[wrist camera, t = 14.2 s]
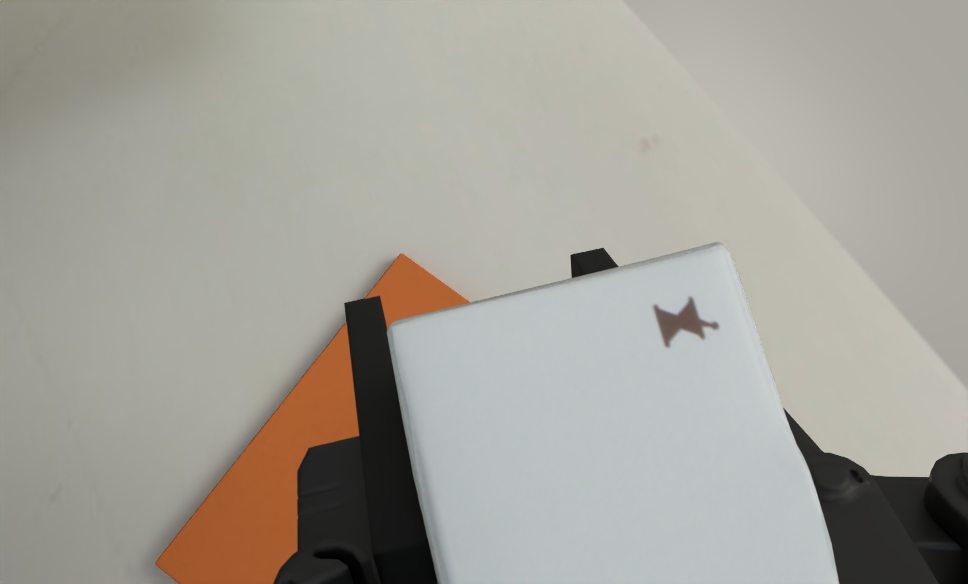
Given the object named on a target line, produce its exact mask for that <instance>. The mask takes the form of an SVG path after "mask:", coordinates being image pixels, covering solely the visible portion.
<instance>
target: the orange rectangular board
mask: <svg viewBox="0 0 968 584" xmlns="http://www.w3.org/2000/svg"><path fill="white" fill-rule="evenodd" d="M375 296H380V298H381V302H382V307H383V311H384V316H385V320H386V324H387V329H388V328H389V326H390V325H391V324H392V323H393V322H394V321H396V320H400V319H404V318H408V317H412V316H416V315H420V314H424V313H429V312H433V311H437V310H441V309H446V308H450V307H454V306H458V305H463V304H467V303H470V302H469V301H468V300H466V299H465V298H463V297H462V296H461V295H459V294H458V293H456V292H455V291H454V290H452V289H451V288H450V287H448V286H447V285H445V284H444V283H443V282H441V281H440V280H438V279H437V278H436V277H434V276H433V275H431V274H430V273H429V272H427V271H426V270H424V269H423V268H422V267H420V266H419V265H418V264H416V263H415V262H413V261H412V260H411V259H409V258H408V257H406V256H405V255H404V254H402V253H401V254H400V255H399V256H398V257H397V259H396V260H395V261H394V262H393V264H392V265H391V266H390V267H389V269H388V270H387V271H386V272H385V274H384V275H383V276H382V277H381V279H380V280H379V281H378V282H377V284H376V285H375V286H374V288H373V289H372V290H371V291H370V293H369V294H368V295H367V296H366V298H371V297H375ZM366 298H365V299H366ZM356 436H359V429H358V420H357V411H356V402H355V393H354V384H353V375H352V366H351V357H350V348H349V339H348V331H347V322H346V323H345V324H344V325H343V327H342V328H341V329H340V330H339V332H338V333H337V334H336V335H335V337H334V338H333V339H332V340H331V342H330V343H329V344H328V346H327V347H326V348H325V349H324V351H323V352H322V353H321V354H320V356H319V357H318V358H317V359H316V361H315V362H314V363H313V364H312V366H311V367H310V368H309V369H308V371H307V372H306V373H305V375H304V376H303V377H302V378H301V380H300V381H299V382H298V383H297V385H296V386H295V387H294V388H293V390H292V391H291V392H290V393H289V395H288V396H287V397H286V398H285V400H284V401H283V402H282V404H281V405H280V406H279V407H278V409H277V410H276V411H275V412H274V414H273V415H272V416H271V417H270V419H269V420H268V421H267V422H266V424H265V425H264V426H263V427H262V429H261V430H260V431H259V433H258V434H257V435H256V436H255V438H254V439H253V440H252V441H251V443H250V444H249V445H248V446H247V448H246V449H245V450H244V451H243V453H242V454H241V455H240V456H239V458H238V459H237V460H236V461H235V463H234V464H233V465H232V467H231V468H230V469H229V470H228V472H227V473H226V474H225V475H224V477H223V478H222V479H221V480H220V482H219V483H218V484H217V485H216V487H215V488H214V489H213V490H212V492H211V493H210V494H209V496H208V497H207V498H206V499H205V501H204V502H203V503H202V504H201V506H200V507H199V508H198V509H197V511H196V512H195V513H194V514H193V516H192V517H191V518H190V519H189V521H188V522H187V523H186V525H185V526H184V527H183V528H182V530H181V531H180V532H179V533H178V535H177V536H176V537H175V538H174V540H173V541H172V542H171V543H170V545H169V546H168V547H167V548H166V550H165V551H164V552H163V554H162V555H161V556H160V557H159V559H158V560H157V561H156V562H155V565H156V566H158V567H159V568H160V569H161V570H163V571H164V572H165V573H166V574H168V575H169V576H170V577H172V578H173V579H174V580H175V581H177V582H178V583H179V584H273V582H274V580H275V578H276V576H277V573H278V571H279V569H280V568H281V566H282V565H283V564H284V563H285V562H286V561H287V560H288V559H289V558H290V557H291V556H292V555H293V554H294V553H295V552H297V519H298V515H297V499H298V495H297V470H298V468H299V466H300V464H301V462H302V460H303V458H304V456H305V454H306V452H307V450H308V448H310V447H314V446H318V445H322V444H326V443H331V442H335V441H339V440H343V439H347V438H352V437H356Z"/></svg>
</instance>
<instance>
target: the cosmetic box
mask: <svg viewBox="0 0 968 584" xmlns="http://www.w3.org/2000/svg"><path fill="white" fill-rule="evenodd" d="M387 336H388V342H389V347H390V353H391V359H392V364H393V370H394V375H395V381H396V386H397V392H398V397H399V403H400V409H401V414H402V420H403V425H404V430H405V435H406V440H407V445H408V450H409V455H410V461H411V466H412V472H413V477H414V481H415V485H416V489H417V493H418V499H419V504H420V508H421V511H422V515H423V520H424V525H425V530H426V534H427V538H428V542H429V546H430V550H431V555H432V559H433V564H434V569H435V573H436V577H437V582H438V584H839V580H838V575H837V570H836V565H835V560H834V554H833V549H832V544H831V540H830V537H829V533H828V530H827V526H826V523H825V519H824V516H823V512H822V509H821V505H820V502H819V499H818V495H817V492H816V489H815V486H814V483H813V480H812V477H811V474H810V471H809V468H808V466H807V464H806V461H805V459H804V457H803V455H802V453H801V451H800V450H799V448H798V446H797V444H796V441H795V439H794V436H793V434H792V431H791V429H790V426H789V423H788V421H787V418H786V415H785V412H784V409H783V406H782V403H781V400H780V397H779V393H778V390H777V387H776V384H775V381H774V378H773V376H772V373H771V370H770V368H769V365H768V362H767V360H766V357H765V354H764V351H763V347H762V344H761V341H760V338H759V335H758V332H757V329H756V325H755V322H754V319H753V316H752V313H751V310H750V307H749V304H748V301H747V298H746V295H745V292H744V289H743V286H742V283H741V280H740V277H739V274H738V271H737V268H736V265H735V262H734V259H733V256H732V253H731V251H730V250H729V248H728V247H727V246H726V245H724V244H722V243H721V242H715V243H711V244H707V245H704V246H700V247H696V248H692V249H688V250H684V251H680V252H676V253H673V254H669V255H665V256H661V257H657V258H653V259H649V260H645V261H641V262H637V263H633V264H629V265H624V266H620V267H616V268H612V269H608V270H604V271H600V272H596V273H591V274H587V275H583V276H579V277H575V278H571V279H567V280H563V281H558V282H554V283H550V284H546V285H542V286H538V287H534V288H529V289H525V290H521V291H517V292H513V293H509V294H504V295H500V296H496V297H492V298H488V299H484V300H480V301H475V302H471V303H467V304H463V305H458V306H454V307H450V308H446V309H441V310H437V311H433V312H429V313H424V314H420V315H416V316H412V317H408V318H404V319H400V320H396V321H394V322H393V323H392V324H391V325H390V326H389V328H388V330H387Z"/></svg>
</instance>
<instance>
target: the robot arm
mask: <svg viewBox="0 0 968 584" xmlns="http://www.w3.org/2000/svg"><path fill="white" fill-rule="evenodd" d="M616 267H618V266H617V264H616V263H615V262H614V261H613V259H612V258H611V257H610V256H609V254H608V253H607V252H606V251H605V249H604V248H600V249H596V250H591V251H586V252H582V253H577V254H572V255H571V272H572V278H575V277H579V276H583V275H587V274H591V273H596V272H600V271H604V270H608V269H612V268H616ZM344 304H345V313H346V322H347V331H348V339H349V348H350V357H351V366H352V375H353V384H354V393H355V402H356V411H357V420H358V429H359V436H356V437H352V438H347V439H343V440H339V441H335V442H331V443H326V444H322V445H318V446H314V447H310V448H308V450H307V452H306V454H305V456H304V458H303V460H302V462H301V464H300V466H299V468H298V470H297V495H298V499H297V515H298V519H297V552H295V553H294V554H293V555H292V556H291V557H290V558H289V559H288V560H287V561H286V562H285V563H284V564H283V565H282V566H281V568H280V569H279V571H278V573H277V576H276V578H275V580H274V582H273V584H438V582H437V577H436V573H435V569H434V564H433V559H432V555H431V550H430V546H429V542H428V538H427V534H426V530H425V525H424V520H423V515H422V511H421V508H420V504H419V499H418V493H417V489H416V485H415V481H414V477H413V472H412V466H411V461H410V455H409V450H408V445H407V440H406V435H405V430H404V425H403V420H402V414H401V409H400V403H399V397H398V392H397V386H396V381H395V375H394V370H393V364H392V359H391V353H390V347H389V342H388V336H387V330H388V329H387V324H386V320H385V316H384V311H383V307H382V302H381V298H380V296H375V297H371V298H366V299H361V300H357V301H352V302H347V303H344ZM783 409H784V408H783ZM784 412H785V415H786V418H787V421H788V423H789V426H790V429H791V431H792V434H793V436H794V439H795V441H796V444H797V446H798V448H799V450H800V451H801V453H802V455H803V457H804V459H805V461H806V464H807V466H808V468H809V471H810V474H811V477H812V480H813V483H814V486H815V489H816V492H817V495H818V499H819V502H820V505H821V509H822V512H823V516H824V519H825V523H826V526H827V530H828V533H829V537H830V540H831V544H832V549H833V554H834V560H835V565H836V570H837V575H838V580H839V584H968V453H956V454H948V455H946V456H944V457H942V458H941V459H939V460H937V461H936V462H935V464H934V466H933V468H932V470H931V473H930V476H929V477H884V476H874V475H870V474H869V473H868V472H867V471H866V470H865V469H864V468H863V467H861V466H860V465H858V464H856V463H855V462H853V461H851V460H850V459H848V458H845V457H841V456H838V455H835V454H832V453H824V452H823V451H822V450H821V449H820V448H819V447H818V446H817V445H816V444H815V443H814V441H813V440H812V439H811V438H810V437H809V436H808V435H807V434H806V433H805V431H804V430H803V429H802V428H801V427H800V426H799V425H798V424H797V422H796V421H795V420H794V419H793V418H792V417H791V416H790V415H789V414H788V412H787V411H786V410H785V409H784Z"/></svg>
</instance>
